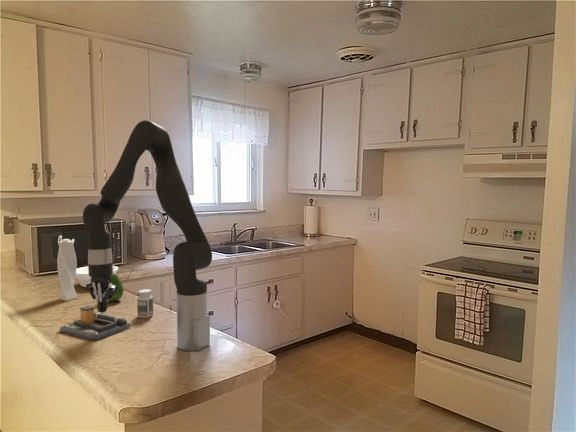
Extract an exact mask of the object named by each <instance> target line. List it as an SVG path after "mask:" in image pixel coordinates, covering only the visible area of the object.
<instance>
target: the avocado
mask: <svg viewBox="0 0 576 432" xmlns="http://www.w3.org/2000/svg"><path fill="white" fill-rule="evenodd" d="M111 280H112V285H113V286H117V289H116V291H115V293H114V295H113V296H112V298H111V299H109V300H108V301H110V302H117V301H119V300H121V298H122V296H123V295H124V285H123V283H122V281H121V280H120V278H119V276H118V274H117V273H116V274H112V275H111Z"/></svg>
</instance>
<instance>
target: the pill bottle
mask: <svg viewBox="0 0 576 432" xmlns="http://www.w3.org/2000/svg"><path fill="white" fill-rule="evenodd" d="M136 299H137V300H136V301H137V302H136V303H137V317H138V318H140V319H141V318H142V319H143V318H144V319H147V318H150V317H152V316H153V315H154V297H153V295H152V290H151V289H149V288H148V289H147V288H146V289H140V290H138V296H137V298H136Z"/></svg>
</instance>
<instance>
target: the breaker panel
mask: <svg viewBox="0 0 576 432" xmlns="http://www.w3.org/2000/svg"><path fill="white" fill-rule="evenodd" d="M130 328H131V324H130V322H129V323H128V322H127V323H126V324H124V325H119V324H117V322H112V321H108V320H104V319H99V318H95V317H94V323H91V324H89V323H85V322H81V318H80V319H77V320H74V321H73V322H72V323H69V324H64V325H62V326H60V327H59V332H61V333H64V334H67V335H71V336H75V337H79V338H83V339H85V340H86V339H87V340H91V341H94V342H96V341H98V340H99V341H100V340H101V339H104V338H107V337H109V336H112V335H114V334H116V333H119V332H122V331H124V330H127V329H130Z"/></svg>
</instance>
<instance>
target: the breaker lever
mask: <svg viewBox="0 0 576 432" xmlns="http://www.w3.org/2000/svg"><path fill="white" fill-rule="evenodd" d="M79 310H80V319H81V322H85V323H89V324H91V323H94V312H95V307H94V306H91V305H86V306H83V307H80V308H79Z"/></svg>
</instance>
